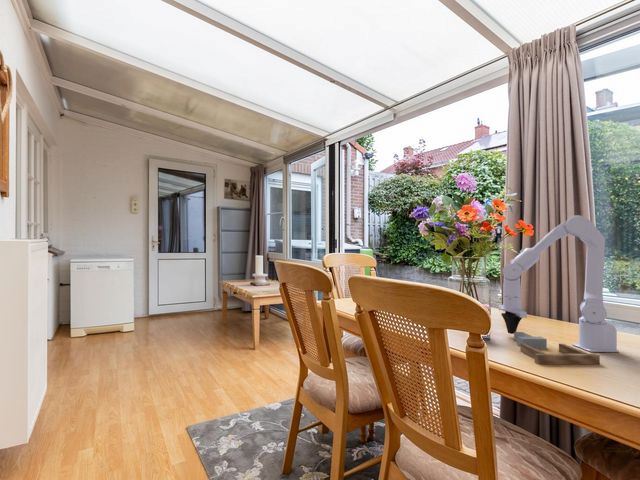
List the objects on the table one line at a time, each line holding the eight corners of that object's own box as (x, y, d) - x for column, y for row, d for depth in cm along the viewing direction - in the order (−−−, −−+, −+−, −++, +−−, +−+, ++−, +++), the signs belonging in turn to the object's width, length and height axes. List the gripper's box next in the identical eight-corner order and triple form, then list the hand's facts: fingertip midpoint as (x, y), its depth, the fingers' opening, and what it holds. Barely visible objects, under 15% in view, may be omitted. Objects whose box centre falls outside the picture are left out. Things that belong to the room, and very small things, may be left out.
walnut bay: (569, 351, 109) (569, 343, 109) (599, 364, 98) (599, 355, 98) (514, 351, 109) (514, 343, 109) (537, 364, 97) (537, 355, 98)
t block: (529, 340, 122) (529, 332, 122) (546, 348, 113) (546, 339, 113) (507, 340, 122) (507, 331, 122) (522, 348, 113) (522, 339, 113)
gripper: (490, 293, 133) (490, 328, 133) (512, 299, 118) (512, 338, 118) (508, 293, 133) (508, 328, 133) (532, 299, 119) (532, 338, 119)
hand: (511, 333), depth 126 cm, fingers closed
